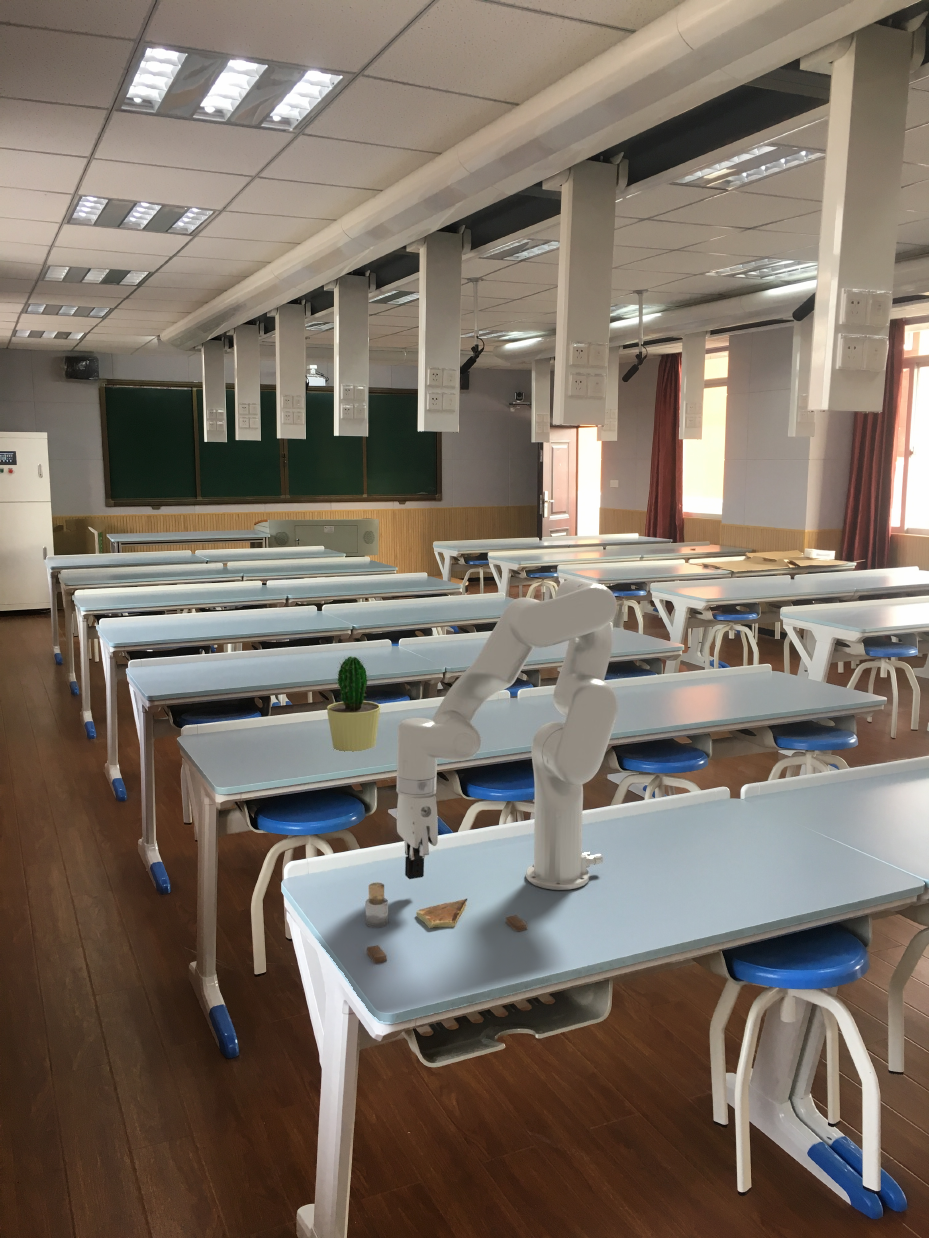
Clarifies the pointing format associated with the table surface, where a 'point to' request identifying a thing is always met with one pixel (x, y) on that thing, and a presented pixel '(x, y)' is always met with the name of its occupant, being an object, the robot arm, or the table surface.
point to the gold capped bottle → (376, 906)
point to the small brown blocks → (380, 956)
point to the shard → (442, 914)
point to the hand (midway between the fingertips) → (414, 876)
